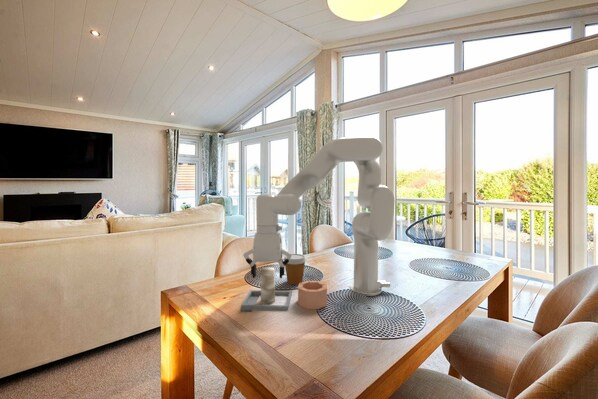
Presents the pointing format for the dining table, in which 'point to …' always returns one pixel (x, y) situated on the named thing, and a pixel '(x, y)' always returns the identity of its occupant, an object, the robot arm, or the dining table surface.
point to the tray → (252, 299)
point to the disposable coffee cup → (295, 269)
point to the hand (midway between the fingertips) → (267, 276)
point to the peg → (267, 285)
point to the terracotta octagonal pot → (312, 294)
